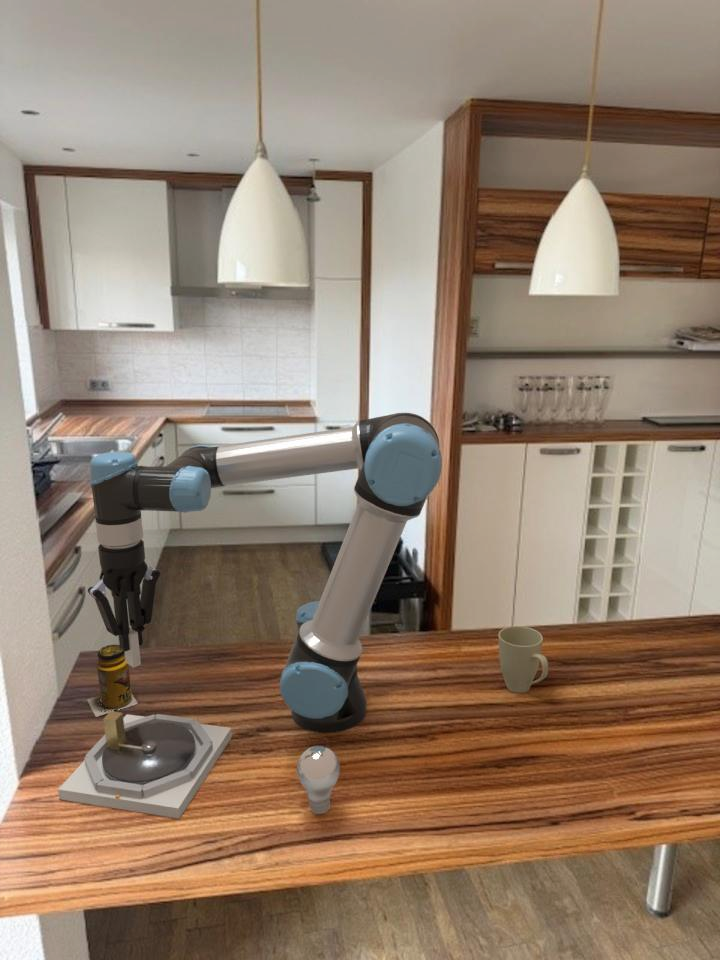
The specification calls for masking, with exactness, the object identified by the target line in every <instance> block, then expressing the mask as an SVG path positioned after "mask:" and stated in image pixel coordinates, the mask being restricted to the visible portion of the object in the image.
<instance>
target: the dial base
mask: <svg viewBox="0 0 720 960" xmlns="http://www.w3.org/2000/svg"><path fill="white" fill-rule="evenodd" d="M123 720H124V729H125V732H126V731H128V730H130V729H133V728H135V727H138V726H142V725H146V724H152V723H171V724H176V725H180V726H182V727H184V728H186V729H188V730H189V731H190V732H191V733H192V734H193V736H194V739H195V749H196V750H195V754H194V757H193V759H192V761H191V762H190V763H189V764H188V765H187V766H186V767H185V768H184V769H183V770H182V771H179V772H177V773H174V774H171V775H169V776H166V777H163V778H161V779H158V780H155V781H153V782H150V783H147V784H145V785H139V784H133V783H126V782H119V781H113V780H111V779H110V778H109V777H108V776H107V775H106V774H105V772H104V770H103V764H102V756H103V753H104V750H105V749H106V747H107V745H106V737H105V734H104V735H102V737H101V738H100V739H99V740H98V741H97V742H96V744H95V745H93V747H92V748H91V749H90V750H89V751H88V752H87V753H86V754H85V756H84V760H83V761H82V763H81V764H80V765H79V766H78V767H77V768H76V769H75V770H74V771H73V772H72V774H71V775H69V777H68V778H67V779H66V780H65V781H64V782H63V783H62V784H61V785H60V786H59V788H58V789H57V791H58V792H57V793H58V798H59V800H63V801H68V802H72V803H74V802H75V803H80V804H85V805H92V806H98V807H105V808H112V809H116V810H118V809H119V810H123V811H129V812H130V811H131V812H136V813H143V814H148V815H154V816H160V817H167V818H173V819H180V818H181V817H182V815H183V814H184V812H185V810H186V809H187V807H188V806H189V805H190V803H191V802H192V800H193V799H194V797H195V795H196V794H197V792H198V791H199V789H200V787H201V785H202V784H203V783H204V781H205V780H206V778H207V777H208V775H209V774H210V772H211V771H212V769H213V767H214V765H216V763H217V761H218V760H219V759H220V756H221V755H222V753H223V752H224V751H225V748H226V747H227V745H228V744H229V743H230V741H231V739H232V738H233V734H232V733H233V731H232V727H227V726H219V725H211V724H204V723H200V722H199V721H198V719H196V718H192V717H184V716H176V715H169V714H160V713H156V714H151V715H148V716H144V715H143V716H142V715H135V714H128V713H127V714H125V716H123Z"/></svg>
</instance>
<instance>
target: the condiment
mask: <svg viewBox="0 0 720 960" xmlns="http://www.w3.org/2000/svg"><path fill="white" fill-rule="evenodd" d="M97 662H98V663H97V664H96V667H97V668H96V669H97V675H98V676H97V677H98V684H99V685H98V686H99V692H100V695H98V696H95V697H91V698H88V699H86V700H87V703H88V704H89V705H88V706H89V707H90V709H91V711H92V712H93V715H94V717H95V718H98V717H100V716H104V715H106V714H108V713H109V712H110V711H111V710H110V709H118V710H117V711H120V709H121V710H123V709H126V708H130V707H133V706H135V705H138V704H139V703H138V701H137V700H136V698H135V697H134V694H132V685H131V677H130V670H129V669H130V668H129V664H127V663H126V661H125V651H123V650H122V649H121V648H120V645H119V644H109V645H105V646H103V647H101V648H100V649H99V650H98V651H97ZM100 699H101V701H102V702H101V701H100ZM98 701H99V702H98ZM99 704H100V705H99ZM101 704H102V705H101ZM101 708H102V709H103V708H105V710H106V709H107V711H106V712H104V711H105V710H104V709H103V710H102V712H101V711H99V710H100V709H101ZM98 709H99V710H98ZM108 710H109V711H108ZM112 712H115V711H114V710H112Z"/></svg>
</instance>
